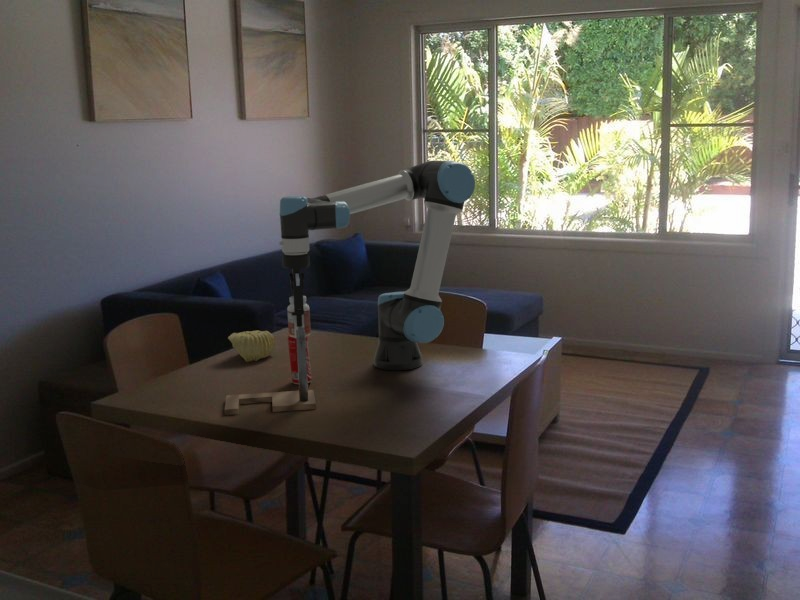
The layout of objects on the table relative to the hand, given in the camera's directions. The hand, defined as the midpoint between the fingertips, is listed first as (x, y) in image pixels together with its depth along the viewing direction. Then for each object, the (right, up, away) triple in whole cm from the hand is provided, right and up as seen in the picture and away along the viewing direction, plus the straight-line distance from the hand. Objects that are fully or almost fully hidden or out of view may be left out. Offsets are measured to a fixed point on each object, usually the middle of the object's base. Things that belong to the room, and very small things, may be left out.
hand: (299, 334), depth 251 cm
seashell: (-21, -10, +44) cm, 50 cm away
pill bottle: (0, -1, 0) cm, 1 cm away
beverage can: (-1, -15, +14) cm, 21 cm away
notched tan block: (-7, -19, -6) cm, 21 cm away
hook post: (+3, -19, -11) cm, 22 cm away
